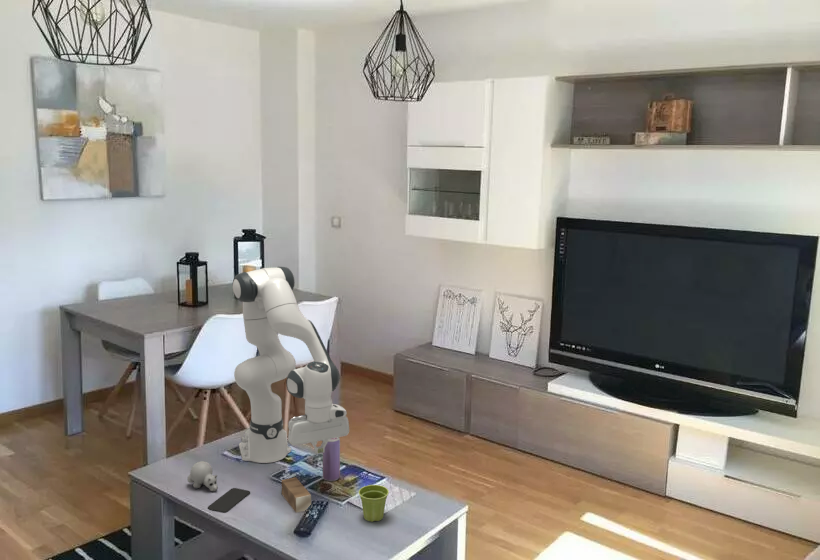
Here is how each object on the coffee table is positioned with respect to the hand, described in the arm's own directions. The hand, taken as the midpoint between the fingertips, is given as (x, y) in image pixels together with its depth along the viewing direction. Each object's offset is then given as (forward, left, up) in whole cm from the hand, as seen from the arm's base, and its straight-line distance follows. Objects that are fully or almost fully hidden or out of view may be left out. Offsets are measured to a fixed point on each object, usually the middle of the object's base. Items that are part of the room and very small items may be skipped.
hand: (319, 452), depth 234 cm
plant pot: (+20, +10, -16) cm, 27 cm away
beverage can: (-11, +9, -16) cm, 21 cm away
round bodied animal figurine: (-24, -32, -16) cm, 43 cm away
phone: (-11, -27, -16) cm, 33 cm away
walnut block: (+6, -8, -13) cm, 17 cm away
